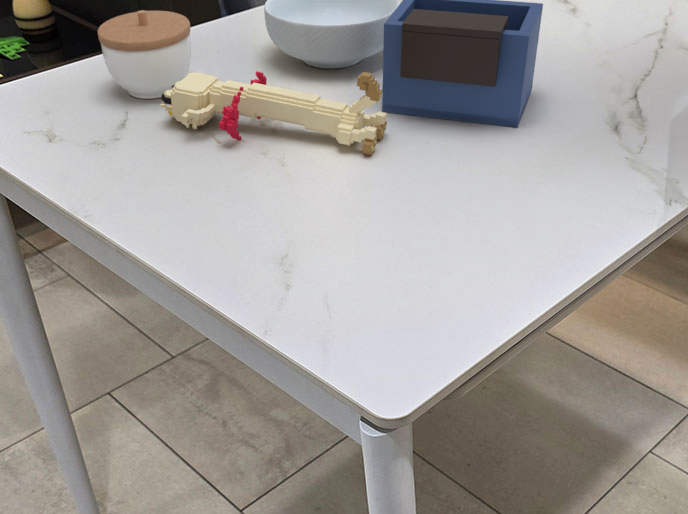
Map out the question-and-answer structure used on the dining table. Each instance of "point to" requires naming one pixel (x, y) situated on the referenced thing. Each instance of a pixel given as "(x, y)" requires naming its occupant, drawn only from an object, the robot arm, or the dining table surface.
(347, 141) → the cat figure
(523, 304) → the dining table surface
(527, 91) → the blue box
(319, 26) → the cereal bowl
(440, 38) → the dark brown block
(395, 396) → the dining table surface
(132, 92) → the trinket box
